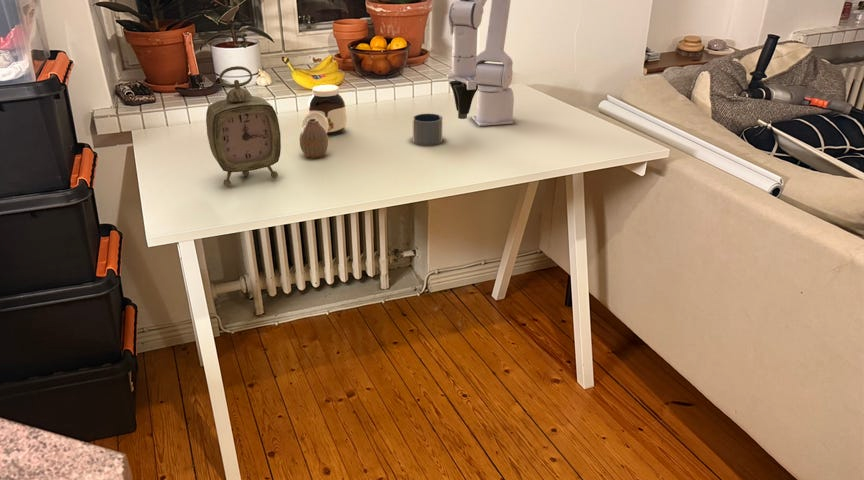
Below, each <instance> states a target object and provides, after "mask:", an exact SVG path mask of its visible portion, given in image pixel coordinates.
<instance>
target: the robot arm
mask: <svg viewBox="0 0 864 480" xmlns="http://www.w3.org/2000/svg"><path fill="white" fill-rule="evenodd" d="M487 1H488V0H456V1H454V2H452V4H451V5H450V7H449V11H448V23H449V28H450V31H449V32H450V35H451V36H452V42H451V73H448V74H446V78H447V79H448V80H450V81H449V82H448V83H449V86H450V88H451V90H452V93H453V98H454V104H455V108H456V111H457V112H458V106H459V112H460V114H467V115H468V114H469V113H470V111H471V106H472V102H473V99H474V97H475V95H477V96H476V115H472V116H471V119H472V120H473V121H474V122H475V124H477V125H478V126H479V127H484V126H498V125H512V124H514V121H513V120H514V105H515V104H514V102H515V97H514V91H513V89H512V88H511V87H510V86H511V84H512V80H513V65H514V63H513V62H514V61H513V59H512V58H511V56H510V55H508V54H507V53H506V52H505V44H506V37H507V30H508V23H509V22H508V21H509V15H510V8H511V1H512V0H491V3H490V11H489V17H488V26H487V33H486V41H485V47H484V50H483V51H481V52H480V53H479V54H477V51H478V50H477V49H478V29H479V27H480V26H481V23H482V19H483V15H484V6H485V5H486V3H487ZM476 93H477V94H476Z"/></svg>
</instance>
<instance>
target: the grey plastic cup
mask: <svg viewBox="0 0 864 480" xmlns="http://www.w3.org/2000/svg"><path fill="white" fill-rule="evenodd" d="M443 122H444V118H443V116H442V115H440V114H436V113H420V114H416V115H414V116H413V117H412V143H413V144H416V145H419V146H424V147H426V146H427V147H428V146H429V147H430V146H436V145H439V144H441V143H442V142H443V130H444V129H443V128H444V127H443V124H444V123H443Z"/></svg>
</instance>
